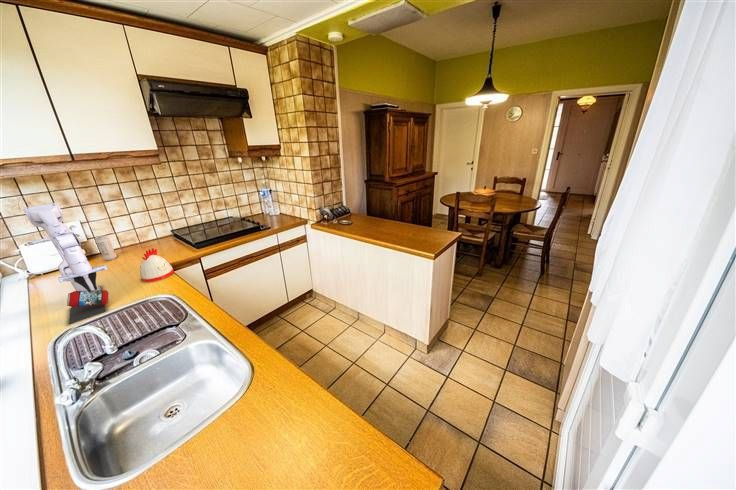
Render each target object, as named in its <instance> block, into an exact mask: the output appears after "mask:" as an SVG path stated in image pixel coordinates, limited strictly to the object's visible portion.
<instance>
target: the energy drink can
mask: <svg viewBox="0 0 736 490" xmlns="http://www.w3.org/2000/svg"><path fill="white" fill-rule="evenodd" d="M94 239H95V240H94V242H95V244H96V246H97V248H98V250H99V252H100V254H101V255H102V258H103V260H105V261H107V262H108V261H109V262H110V261H113V260H116V259H117V254H116V252H115V250H114V247H113V245H112V243H111V241H110V238H109V237H108V236H107V235H99V236H96V237H95V238H94Z"/></svg>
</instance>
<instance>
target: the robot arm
mask: <svg viewBox="0 0 736 490" xmlns="http://www.w3.org/2000/svg"><path fill="white" fill-rule="evenodd" d="M22 211H23V212H24V214H25V216H26V217H27V219H28V221H30V223H31V225H32V226H33V227H34V228H35V227H36V228H41V229H42V230H44V231H45V232H46V234H47V235H48V236H47V237H49V239H50V241H51V242H52V244H53V246H54V248H55V249H56V251H57V253H58V254H59V256H60V258H61V259H62V261H61V262H60V263H59V264H58V266H57V269H58V271H59V273H60V275H61V276H58V277H57V280H58V282H59V283H60V284H61V283H64V282H70V285H72V287H73V289H74V291H88V292H91V290H101V285H98V284H97V273H99V272H103V271H107V270H109V268H108V266H107V264H102V265H97V266H92V264H91V263H90V262H89V260H88V258H87V256H86V254H85V252H84V250H83V248H82V247H81V246H82V243H81V241H80V239H79V237H78V236H77V234H76V233H75V232H74V231H72V230H70V228H69V227H68V225H66V224H65V223H63V222H64V213H63V211H62V209H61V207H60V206H59V204H58V203H56V202H52V203H47V204H41V205H33V206H27V207H26V206H25V207H23V209H22Z"/></svg>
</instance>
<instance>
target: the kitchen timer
mask: <svg viewBox="0 0 736 490" xmlns="http://www.w3.org/2000/svg"><path fill="white" fill-rule="evenodd" d="M141 259H142V262H141V263H140V266H139V273H140V279H141V280H142V282H144V283H152V282H157V281H160V280H163V279H166V278H168V277H170V276H171V275H172V274H173V273H174V272H175V271H174V268H173V266H172V265H171V264H170V262H168V261H167V259H165V258H164V257H162V256H161V255H158V249H157V248H155V249H154V248H152V247H151V249H149V248H148V250H145V253H143V256H141Z"/></svg>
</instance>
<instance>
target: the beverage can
mask: <svg viewBox="0 0 736 490" xmlns="http://www.w3.org/2000/svg"><path fill="white" fill-rule="evenodd" d="M109 299H110V292H109V291H108V290H107V289H100V290H91V292H88V291H75V290H74V291H71V292H68V294H67V303H66V306H67V307H70V308H72V307H87V306H101V305H105V306H106V305H107V304H108V303H109Z"/></svg>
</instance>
